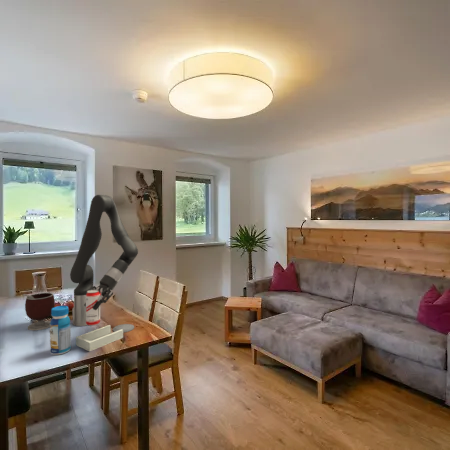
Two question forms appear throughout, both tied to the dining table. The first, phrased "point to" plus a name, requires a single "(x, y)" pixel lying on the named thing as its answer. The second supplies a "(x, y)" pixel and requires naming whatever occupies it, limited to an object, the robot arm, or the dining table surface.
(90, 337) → the cream open tray
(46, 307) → the mate gourd
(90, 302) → the beer can
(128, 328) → the mat
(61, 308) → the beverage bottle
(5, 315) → the dining table surface
